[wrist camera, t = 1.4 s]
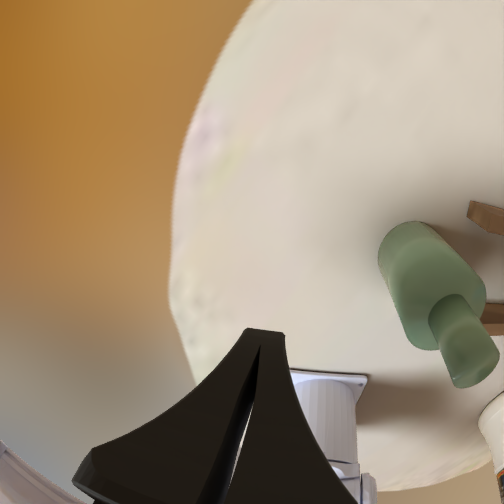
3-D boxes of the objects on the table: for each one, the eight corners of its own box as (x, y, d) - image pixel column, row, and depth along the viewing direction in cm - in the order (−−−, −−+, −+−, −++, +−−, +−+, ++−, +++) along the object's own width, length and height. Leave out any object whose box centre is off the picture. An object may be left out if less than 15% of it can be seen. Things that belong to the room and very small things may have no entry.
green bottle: (429, 288, 19) (486, 400, 9) (370, 283, 19) (406, 410, 9) (447, 226, 16) (538, 319, 7) (385, 216, 17) (458, 320, 7)
